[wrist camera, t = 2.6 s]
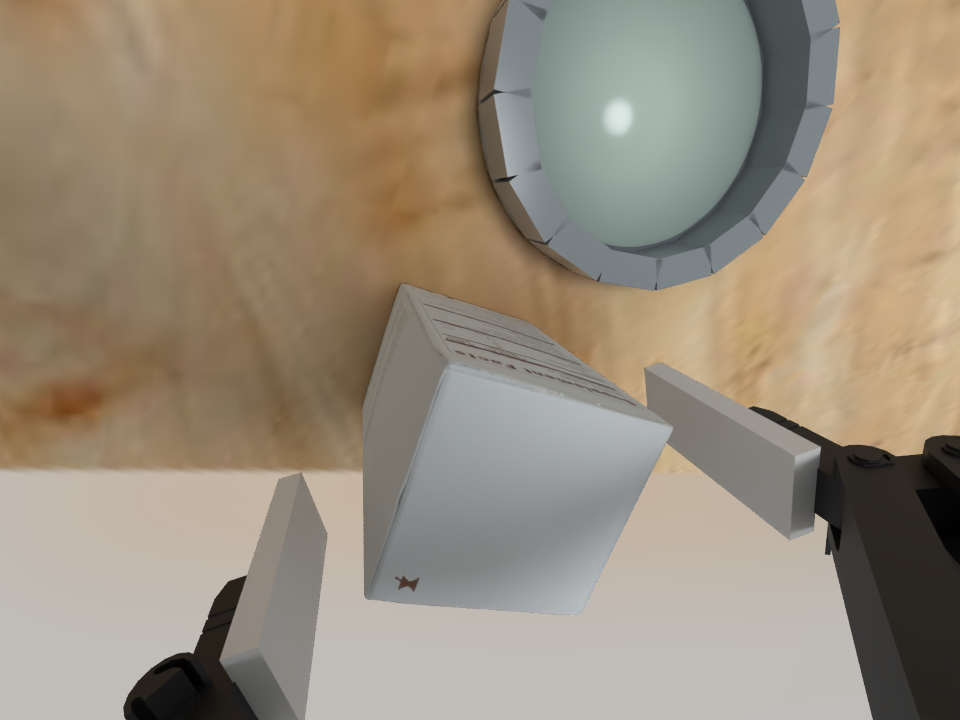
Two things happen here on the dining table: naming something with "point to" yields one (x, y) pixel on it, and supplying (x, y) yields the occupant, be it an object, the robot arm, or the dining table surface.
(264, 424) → the dining table surface
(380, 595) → the supplement box
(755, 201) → the round tray
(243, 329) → the dining table surface
